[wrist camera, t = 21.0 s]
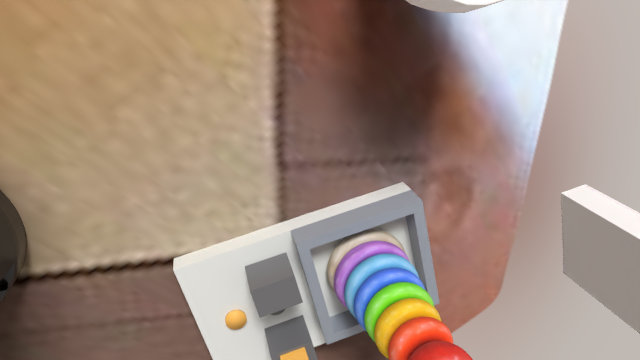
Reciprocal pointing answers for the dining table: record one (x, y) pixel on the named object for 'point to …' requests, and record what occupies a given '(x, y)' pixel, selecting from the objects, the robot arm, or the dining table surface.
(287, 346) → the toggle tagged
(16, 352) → the dining table surface
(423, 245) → the frame
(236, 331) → the panel
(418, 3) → the cup
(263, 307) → the toggle
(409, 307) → the stacking toy
